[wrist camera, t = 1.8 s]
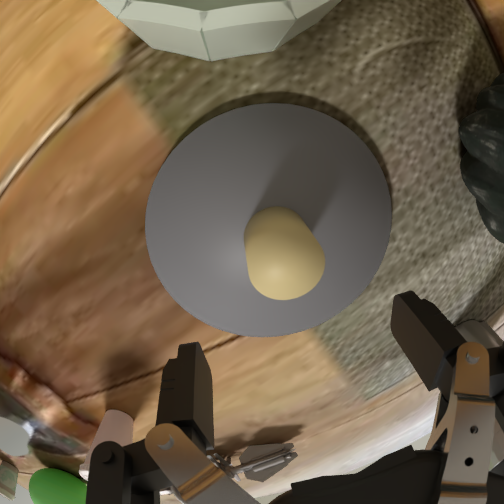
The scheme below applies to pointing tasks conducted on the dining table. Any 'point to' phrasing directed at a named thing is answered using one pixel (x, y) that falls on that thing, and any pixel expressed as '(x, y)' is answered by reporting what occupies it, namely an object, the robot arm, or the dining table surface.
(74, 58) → the dining table surface
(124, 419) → the smoothie
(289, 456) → the spaceship
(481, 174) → the squash
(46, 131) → the dining table surface
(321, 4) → the bowl
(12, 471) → the coffee cup
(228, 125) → the lid
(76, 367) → the dining table surface
